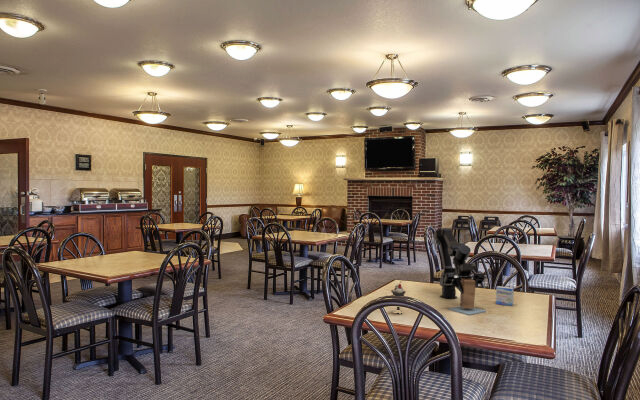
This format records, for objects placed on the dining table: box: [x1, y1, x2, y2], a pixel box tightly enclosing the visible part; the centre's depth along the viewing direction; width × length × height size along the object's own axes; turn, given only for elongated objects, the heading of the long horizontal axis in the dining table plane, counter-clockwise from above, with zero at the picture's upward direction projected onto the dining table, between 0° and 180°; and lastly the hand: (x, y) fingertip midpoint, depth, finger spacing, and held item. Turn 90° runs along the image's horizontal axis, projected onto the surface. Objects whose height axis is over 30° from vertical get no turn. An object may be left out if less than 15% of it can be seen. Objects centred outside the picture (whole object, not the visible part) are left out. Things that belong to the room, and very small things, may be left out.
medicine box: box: [495, 285, 515, 307], centre depth 233 cm, size 8×4×9 cm, turn 62°
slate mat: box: [448, 305, 487, 316], centre depth 219 cm, size 12×12×1 cm
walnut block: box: [459, 279, 476, 308], centre depth 219 cm, size 5×5×13 cm
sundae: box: [390, 281, 406, 311], centre depth 214 cm, size 7×7×15 cm
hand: (468, 293), depth 218 cm, fingers closed on walnut block, 5 cm apart
